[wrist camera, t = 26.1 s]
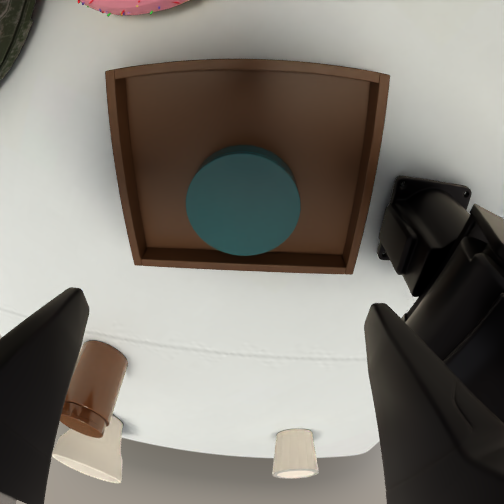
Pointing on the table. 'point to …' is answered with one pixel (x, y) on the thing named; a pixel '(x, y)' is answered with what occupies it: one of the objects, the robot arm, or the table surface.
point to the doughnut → (131, 6)
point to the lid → (243, 200)
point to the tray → (247, 133)
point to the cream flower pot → (93, 452)
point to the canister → (13, 30)
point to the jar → (94, 389)
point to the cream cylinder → (294, 454)
